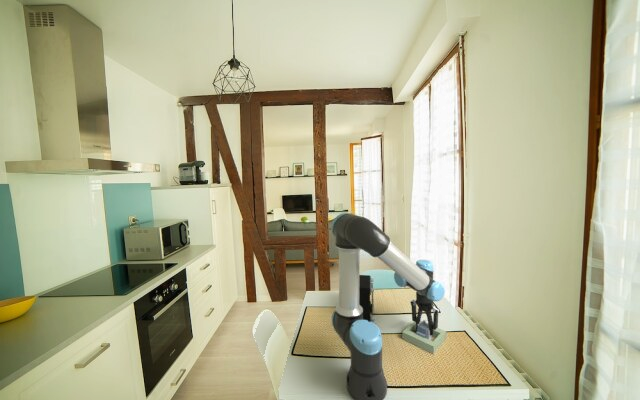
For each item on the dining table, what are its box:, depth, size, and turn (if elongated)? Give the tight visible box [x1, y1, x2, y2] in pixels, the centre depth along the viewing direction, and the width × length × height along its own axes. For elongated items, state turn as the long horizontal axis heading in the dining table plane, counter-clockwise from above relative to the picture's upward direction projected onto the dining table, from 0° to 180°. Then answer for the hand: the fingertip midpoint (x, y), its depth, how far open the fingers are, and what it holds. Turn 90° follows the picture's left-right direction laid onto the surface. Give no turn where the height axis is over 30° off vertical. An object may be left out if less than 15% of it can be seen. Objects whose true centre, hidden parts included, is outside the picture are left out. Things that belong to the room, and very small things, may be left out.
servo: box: [415, 319, 433, 339], centre depth 119 cm, size 10×4×8 cm, turn 133°
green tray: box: [401, 320, 447, 355], centre depth 119 cm, size 15×15×4 cm
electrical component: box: [359, 274, 375, 322], centre depth 141 cm, size 18×10×20 cm, turn 168°
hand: (424, 338), depth 119 cm, fingers closed on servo, 4 cm apart
